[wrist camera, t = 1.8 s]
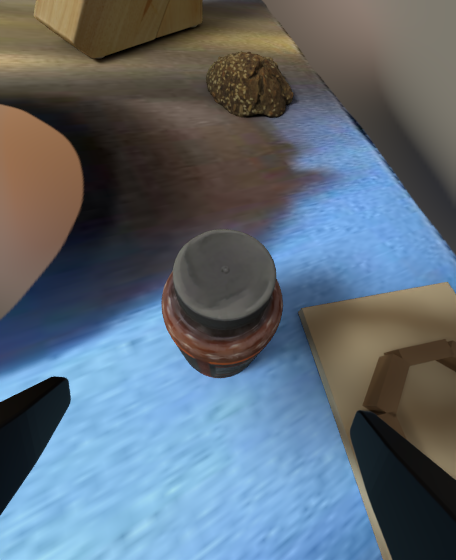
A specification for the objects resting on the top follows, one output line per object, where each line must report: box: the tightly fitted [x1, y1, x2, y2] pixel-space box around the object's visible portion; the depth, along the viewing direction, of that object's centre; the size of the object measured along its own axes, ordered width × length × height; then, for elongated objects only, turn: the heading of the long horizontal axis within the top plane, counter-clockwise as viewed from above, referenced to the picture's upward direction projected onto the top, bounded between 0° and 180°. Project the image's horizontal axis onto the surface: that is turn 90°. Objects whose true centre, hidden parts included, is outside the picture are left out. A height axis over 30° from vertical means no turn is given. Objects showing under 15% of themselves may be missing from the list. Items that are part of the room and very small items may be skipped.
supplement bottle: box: [162, 229, 283, 378], centre depth 14 cm, size 6×6×11 cm
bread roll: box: [206, 52, 293, 118], centre depth 34 cm, size 13×12×5 cm
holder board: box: [298, 282, 456, 560], centre depth 16 cm, size 20×14×3 cm
